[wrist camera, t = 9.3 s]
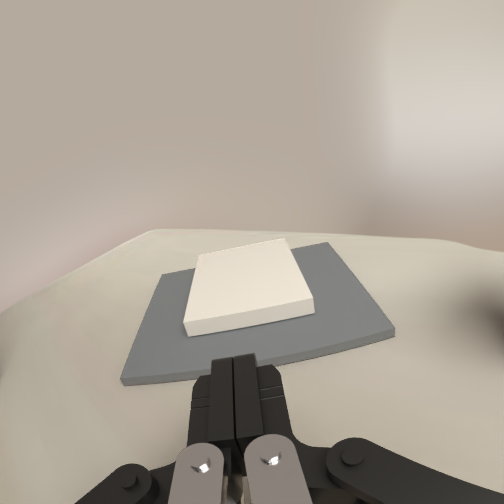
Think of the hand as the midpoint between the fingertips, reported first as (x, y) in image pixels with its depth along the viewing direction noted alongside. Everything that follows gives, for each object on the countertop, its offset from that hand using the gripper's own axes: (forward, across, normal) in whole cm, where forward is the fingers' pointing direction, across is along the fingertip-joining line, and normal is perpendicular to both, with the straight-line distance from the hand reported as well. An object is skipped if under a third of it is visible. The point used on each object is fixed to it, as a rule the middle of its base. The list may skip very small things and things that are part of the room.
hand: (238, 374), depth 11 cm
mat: (+17, 0, +7) cm, 18 cm away
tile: (+12, 0, +6) cm, 13 cm away
